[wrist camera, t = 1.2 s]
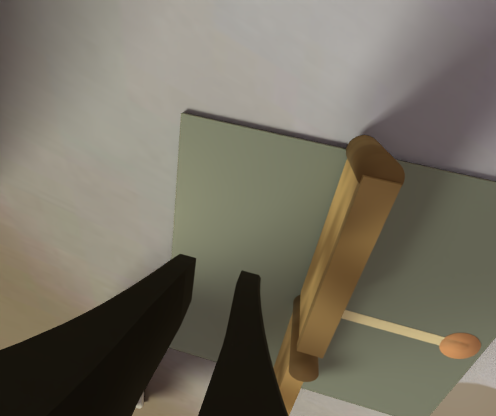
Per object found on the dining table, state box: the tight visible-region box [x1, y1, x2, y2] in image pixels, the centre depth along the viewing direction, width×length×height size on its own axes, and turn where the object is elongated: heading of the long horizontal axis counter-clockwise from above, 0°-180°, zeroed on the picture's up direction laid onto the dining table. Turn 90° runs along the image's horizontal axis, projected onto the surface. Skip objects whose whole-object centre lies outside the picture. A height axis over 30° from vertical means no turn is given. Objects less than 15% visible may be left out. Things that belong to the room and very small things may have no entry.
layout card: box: [169, 113, 496, 416], centre depth 20 cm, size 20×22×1 cm
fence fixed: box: [274, 295, 319, 416], centre depth 20 cm, size 10×2×5 cm, turn 170°
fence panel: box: [297, 135, 405, 358], centre depth 15 cm, size 11×2×5 cm, turn 170°
